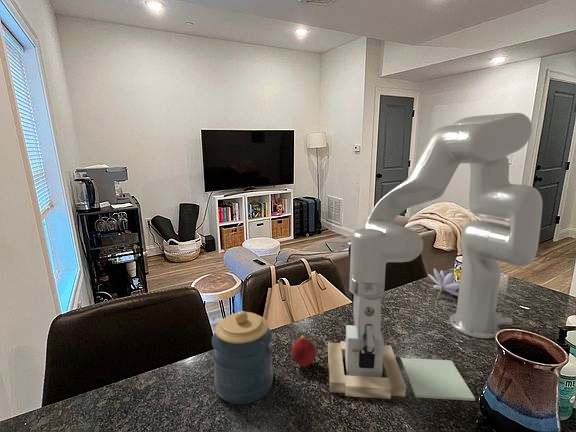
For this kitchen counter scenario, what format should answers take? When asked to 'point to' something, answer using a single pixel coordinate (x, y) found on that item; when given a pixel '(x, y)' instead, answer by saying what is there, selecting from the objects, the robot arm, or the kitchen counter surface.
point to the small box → (353, 355)
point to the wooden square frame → (362, 384)
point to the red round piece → (303, 351)
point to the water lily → (445, 282)
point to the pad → (436, 379)
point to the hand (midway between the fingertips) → (363, 353)
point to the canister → (242, 358)
